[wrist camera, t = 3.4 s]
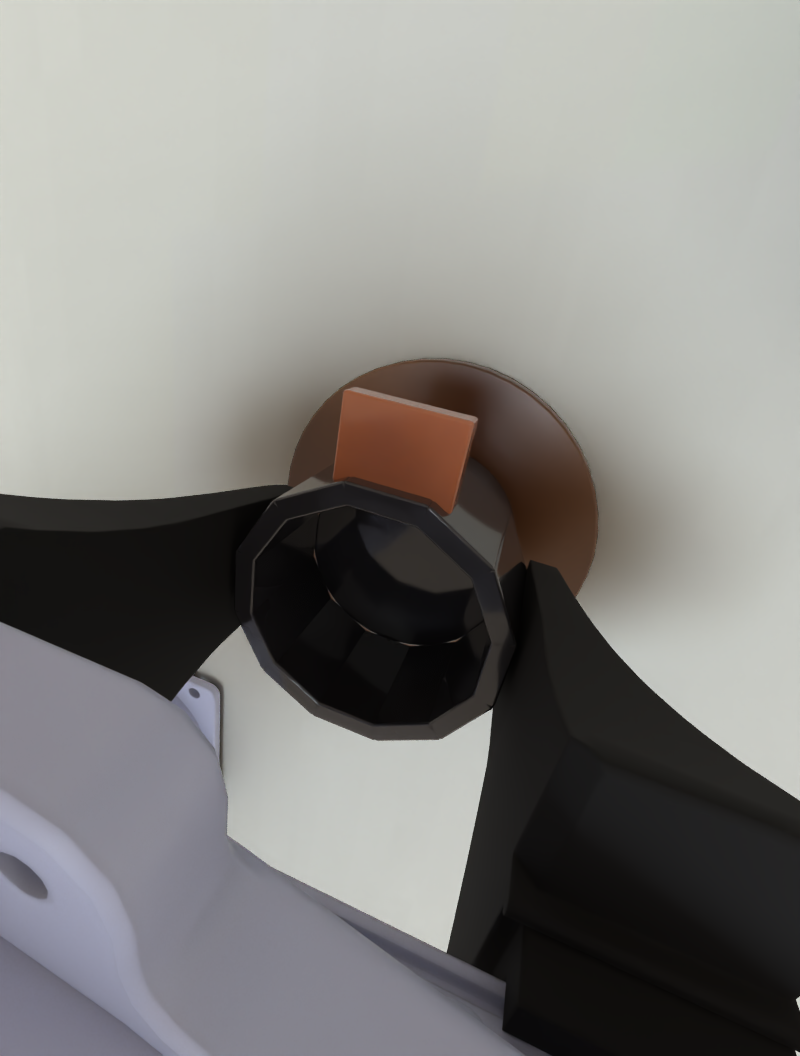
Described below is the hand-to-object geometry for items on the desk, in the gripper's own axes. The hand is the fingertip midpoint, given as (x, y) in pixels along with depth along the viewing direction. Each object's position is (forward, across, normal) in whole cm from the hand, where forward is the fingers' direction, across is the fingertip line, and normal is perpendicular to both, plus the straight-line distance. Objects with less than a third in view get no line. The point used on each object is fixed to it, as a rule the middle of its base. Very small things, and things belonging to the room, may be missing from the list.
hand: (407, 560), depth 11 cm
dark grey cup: (+2, 0, 0) cm, 2 cm away
